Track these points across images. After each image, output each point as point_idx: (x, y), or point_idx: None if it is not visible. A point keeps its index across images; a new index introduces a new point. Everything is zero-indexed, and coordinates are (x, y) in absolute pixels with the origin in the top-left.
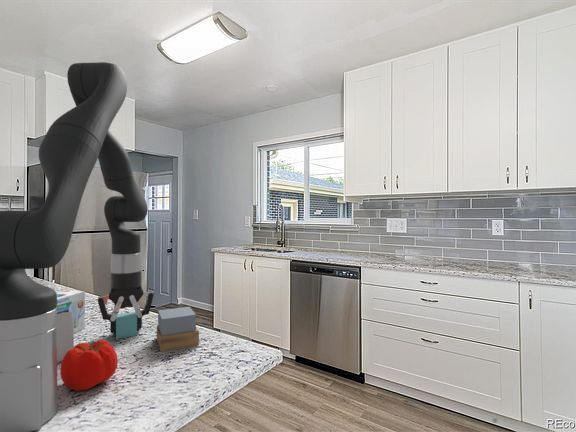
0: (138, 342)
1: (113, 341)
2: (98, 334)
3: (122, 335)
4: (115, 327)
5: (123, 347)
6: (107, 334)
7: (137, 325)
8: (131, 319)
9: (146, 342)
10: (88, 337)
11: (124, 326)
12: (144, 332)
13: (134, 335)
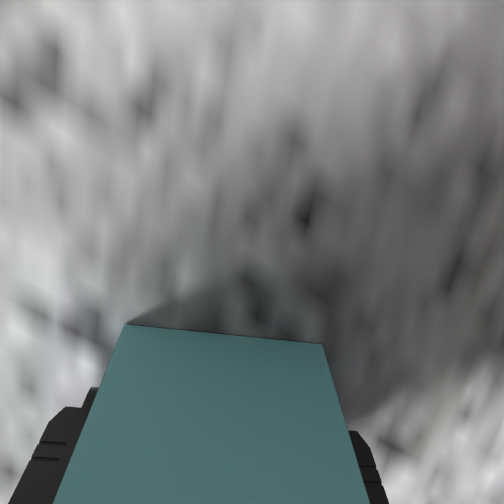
0: (131, 90)
1: (362, 283)
2: (413, 496)
3: (266, 350)
4: None
5: (322, 20)
6: None
7: None
8: (147, 494)
9: (34, 23)
10: (494, 473)
11: (249, 422)
12: (45, 363)
13: (149, 328)
